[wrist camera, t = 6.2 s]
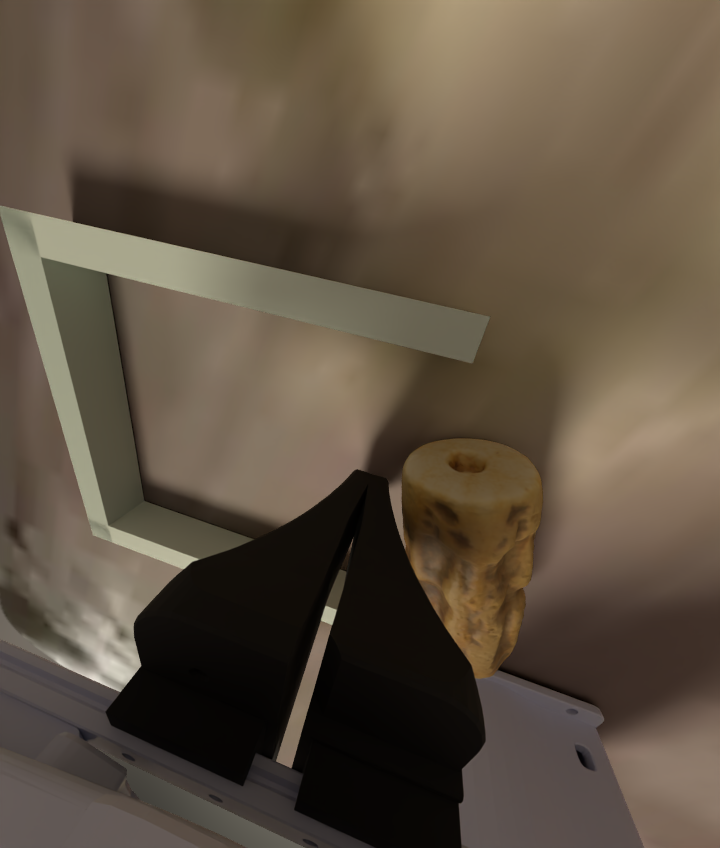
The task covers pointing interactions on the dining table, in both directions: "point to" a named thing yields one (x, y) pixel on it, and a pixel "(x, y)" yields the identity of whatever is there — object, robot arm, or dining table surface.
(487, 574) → the carved stone cylinder
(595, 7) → the dining table surface
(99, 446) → the pale grey flat frame
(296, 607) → the robot arm
